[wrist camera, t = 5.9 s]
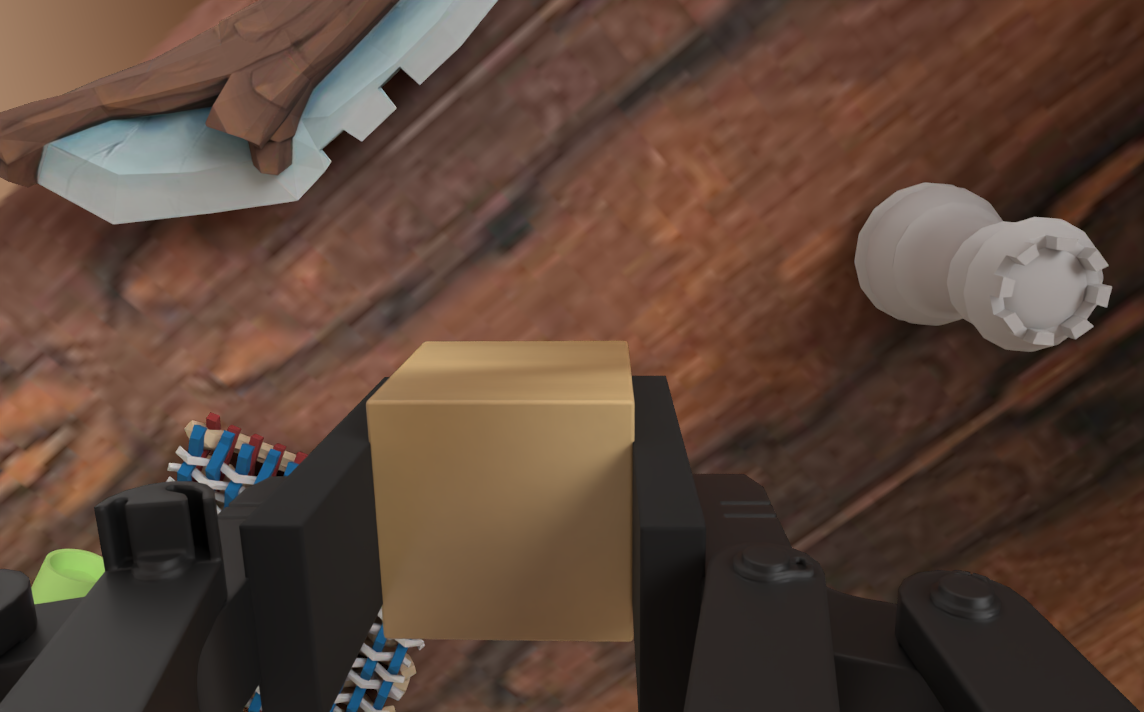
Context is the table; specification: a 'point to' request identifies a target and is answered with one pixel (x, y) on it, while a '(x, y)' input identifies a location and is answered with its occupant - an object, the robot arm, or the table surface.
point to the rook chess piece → (979, 268)
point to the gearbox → (67, 575)
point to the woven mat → (276, 458)
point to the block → (506, 491)
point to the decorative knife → (231, 108)
